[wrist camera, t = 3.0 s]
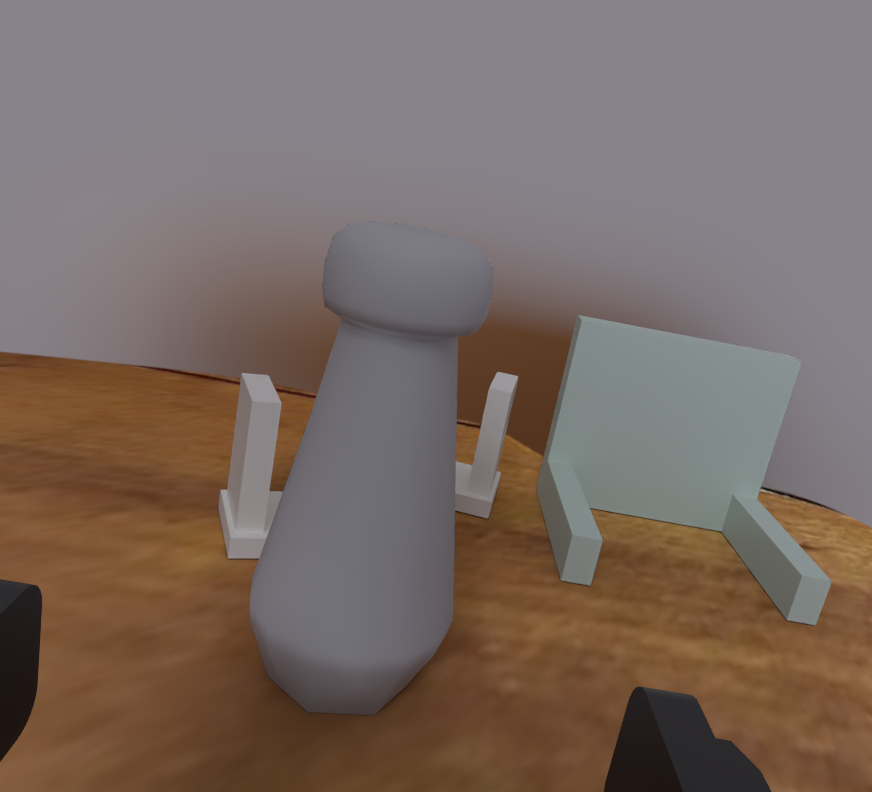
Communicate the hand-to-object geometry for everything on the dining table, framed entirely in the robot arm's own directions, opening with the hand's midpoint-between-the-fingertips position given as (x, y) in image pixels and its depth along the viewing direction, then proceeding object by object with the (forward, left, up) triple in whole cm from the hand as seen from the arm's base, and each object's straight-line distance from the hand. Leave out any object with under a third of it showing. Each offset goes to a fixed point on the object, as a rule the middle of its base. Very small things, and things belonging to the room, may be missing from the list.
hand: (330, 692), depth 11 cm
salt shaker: (0, +11, -8) cm, 14 cm away
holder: (+13, +23, -8) cm, 28 cm away
